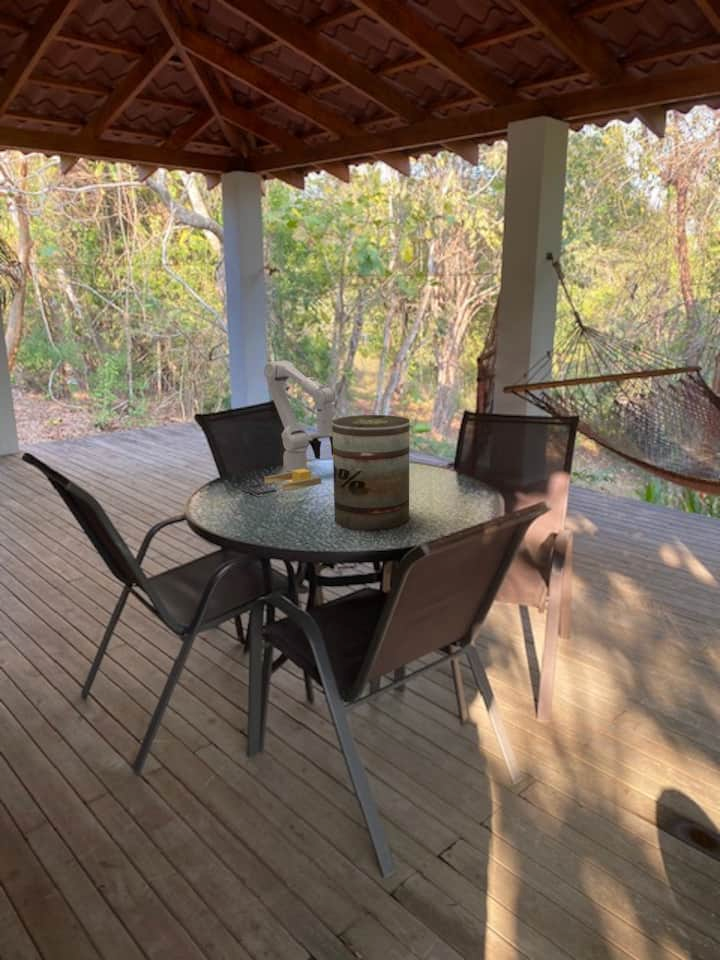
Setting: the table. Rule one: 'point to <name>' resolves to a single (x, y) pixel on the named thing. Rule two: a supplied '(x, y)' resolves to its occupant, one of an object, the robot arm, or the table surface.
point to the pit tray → (256, 491)
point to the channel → (292, 484)
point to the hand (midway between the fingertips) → (325, 456)
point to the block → (301, 475)
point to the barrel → (371, 472)
